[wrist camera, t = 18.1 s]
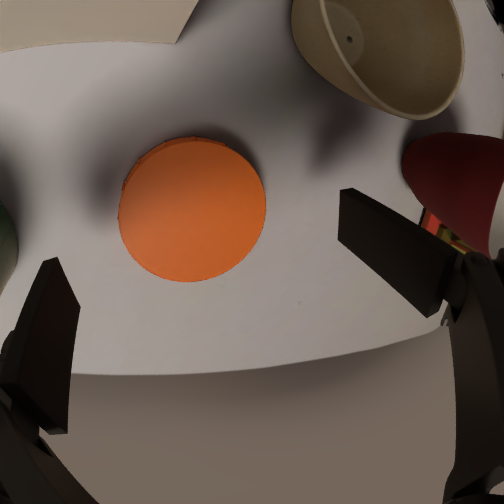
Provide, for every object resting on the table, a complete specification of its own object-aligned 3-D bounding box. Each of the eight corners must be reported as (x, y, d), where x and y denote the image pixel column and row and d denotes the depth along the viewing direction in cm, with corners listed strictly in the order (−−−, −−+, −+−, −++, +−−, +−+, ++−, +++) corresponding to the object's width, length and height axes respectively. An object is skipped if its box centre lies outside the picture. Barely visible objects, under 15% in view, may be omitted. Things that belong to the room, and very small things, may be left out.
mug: (458, 119, 21) (546, 150, 13) (450, 196, 25) (527, 240, 17) (385, 114, 19) (504, 147, 10) (379, 213, 23) (474, 276, 15)
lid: (259, 249, 21) (270, 263, 19) (140, 279, 19) (141, 296, 17) (249, 126, 16) (260, 129, 15) (106, 155, 14) (101, 161, 13)
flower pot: (390, 102, 18) (470, 119, 12) (266, 114, 16) (337, 127, 10) (374, -18, 13) (450, -33, 7) (241, -34, 11) (297, -89, 5)
